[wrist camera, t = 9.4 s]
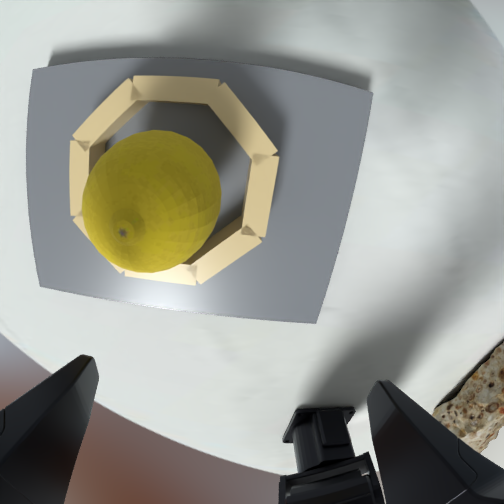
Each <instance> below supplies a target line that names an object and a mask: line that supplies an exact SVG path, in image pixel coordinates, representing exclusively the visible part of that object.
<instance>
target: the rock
mask: <svg viewBox="0 0 504 504" xmlns="http://www.w3.org/2000/svg"><path fill="white" fill-rule="evenodd" d="M432 416H433V417H434V418H435V419H437V420H438V421H439V422H440V423H441V424H443V425H444V426H445V427H446V428H448V429H449V430H450V431H451V432H452V433H454V434H455V435H456V436H457V437H458V438H460V439H461V440H462V441H464V442H465V443H466V444H467V445H469V446H470V447H471V448H473V449H474V450H475V451H477V452H478V453H481V452H482V451H483V450H484V449H485V448H487V445H488V443H489V442H490V441H491V440H493V439H496V437H497V435H498V432H499V429H500V428H501V427H502V426H504V342H503V344H502V345H500V346H498V347H497V348H496V349H495V351H494V352H493V353H492V354H491V357H490V359H489V360H488V361H487V362H485V363H484V364H482V365H481V366H480V367H479V369H478V370H477V371H476V372H475V373H474V374H473V375H472V376H471V377H470V378H469V379H468V380H467V381H466V383H465V384H464V386H463V387H462V389H461V390H460V392H459V393H458V395H457V397H455V398H454V399H452V400H450V401H448V402H445V403H443V404H442V405H440V406H439V407H437V408H435V410H434V413H433V415H432Z"/></svg>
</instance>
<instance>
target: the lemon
mask: <svg viewBox="0 0 504 504" xmlns="http://www.w3.org/2000/svg"><path fill="white" fill-rule="evenodd" d="M221 195H222V191H221V185H220V179H219V175H218V172H217V170H216V168H215V166H214V164H213V161H212V159H211V158H210V157H209V156H208V154H207V153H206V152H205V151H204V150H203V148H202V147H201V146H199V145H198V144H197V143H195V142H194V141H192V140H191V139H190V138H188V137H185V136H183V135H180V134H178V133H175V132H172V131H162V130H150V131H145V132H140V133H135V134H133V135H131V136H129V137H127V138H125V139H123V140H121V141H119V142H117V143H116V144H114V145H113V146H112V147H111V148H110V149H109V150H108V151H107V152H106V153H104V154H103V155H102V156H101V157H100V159H99V160H98V161H97V163H96V164H95V166H94V168H93V169H92V171H91V172H90V174H89V176H88V179H87V182H86V185H85V188H84V191H83V195H82V216H83V221H84V226H85V229H86V231H87V234H88V236H89V238H90V240H91V242H92V243H93V245H94V246H95V247H96V249H97V250H98V252H99V253H100V254H102V255H103V256H104V257H105V258H106V259H107V260H108V261H110V262H111V263H113V264H115V265H117V266H119V267H120V268H123V269H126V270H130V271H133V272H137V273H155V272H159V271H164V270H168V269H171V268H173V267H175V266H177V265H179V264H181V263H183V262H185V261H186V260H187V259H189V258H190V257H191V256H192V255H193V254H194V253H195V252H197V251H198V250H199V249H200V248H201V247H202V246H203V244H204V243H205V241H206V240H207V238H208V237H209V235H210V234H211V232H212V231H213V229H214V227H215V224H216V221H217V218H218V216H219V213H220V206H221Z"/></svg>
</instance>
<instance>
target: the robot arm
mask: <svg viewBox="0 0 504 504" xmlns="http://www.w3.org/2000/svg"><path fill="white" fill-rule="evenodd" d="M98 381H99V374H98V370H97V366H96V363H95V359H94V358H93V357H92V356H88V355H80V356H78V357H77V358H75V359H74V360H72V361H71V362H69V363H68V364H67V365H65V366H64V367H62V368H61V369H59V370H58V371H56V372H55V373H54V374H52V375H51V376H49V377H48V378H46V379H45V380H44V381H42V382H41V383H39V384H38V385H36V386H35V387H33V388H32V389H31V390H29V391H28V392H26V393H25V394H23V395H22V396H21V397H19V398H18V399H16V400H15V401H14V402H12V403H11V404H10V405H8V406H6V408H5V409H2V410H1V411H0V504H64V501H65V497H66V493H67V490H68V486H69V482H70V479H71V475H72V472H73V469H74V465H75V462H76V459H77V455H78V453H79V449H80V446H81V443H82V440H83V437H84V434H85V431H86V428H87V426H88V422H89V419H90V415H91V410H92V406H93V402H94V397H95V393H96V389H97V385H98ZM367 406H368V413H369V420H370V428H371V435H372V441H373V446H374V450H375V454H376V458H377V462H378V467H379V471H380V476H381V480H382V485H383V489H384V494H385V499H386V504H504V469H503V468H501V467H500V466H498V465H496V464H495V463H493V462H492V461H490V460H489V459H487V458H485V457H484V456H482V455H481V454H480V453H478V452H477V451H475V450H474V449H473V448H471V447H470V446H469V445H467V444H466V443H465V442H464V441H462V440H461V439H460V438H458V437H457V436H456V435H455V434H454V433H452V432H451V431H450V430H449V429H448V428H446V427H445V426H444V425H443V424H441V423H440V422H439V421H438V420H437V419H435V418H434V417H433V416H432V415H430V414H429V413H428V412H427V411H426V410H424V409H423V408H422V407H421V406H419V405H418V404H417V403H416V402H415V401H413V400H412V399H411V398H410V397H409V396H407V395H406V394H405V393H404V392H402V391H401V390H400V389H399V388H398V387H396V386H395V385H394V384H393V383H392V382H390V381H389V380H379V381H377V382H376V383H375V384H374V386H373V388H372V390H371V392H370V393H369V395H368V398H367ZM355 412H356V411H355V408H354V407H345V408H326V409H299V410H297V411H295V413H294V415H293V417H292V420H291V422H290V424H289V426H288V428H287V430H286V432H285V434H284V436H283V439H282V440H283V443H293V444H294V450H295V457H296V463H297V470H298V473H296V474H292V475H287V476H286V475H283V476H280V482H279V504H385V503H384V498H383V494H382V490H381V487H380V483H379V481H378V477H377V475H376V471H375V469H374V466H373V463H372V460H371V457H370V454H369V451H368V452H366V453H363V454H362V455H360V456H357V457H355V453H354V450H353V446H352V443H351V438H350V434H349V431H348V428H347V424H348V422H349V421H350V420H351V418H352V417H353V415H354V414H355ZM364 473H367V475H364V476H362V475H361V474H364Z"/></svg>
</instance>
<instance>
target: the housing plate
mask: <svg viewBox="0 0 504 504" xmlns="http://www.w3.org/2000/svg"><path fill="white" fill-rule="evenodd" d="M372 97H373V92H370V91H366V90H363V89H360V88H357V87H353V86H350V85H346V84H343V83H339V82H335V81H332V80H328V79H324V78H320V77H316V76H311V75H307V74H302V73H298V72H293V71H288V70H282V69H277V68H271V67H265V66H259V65H252V64H245V63H237V62H228V61H218V60H206V59H190V58H119V59H104V60H93V61H83V62H75V63H68V64H61V65H54V66H48V67H43V68H38V69H33V72H32V79H31V87H30V95H29V105H28V118H27V137H26V178H27V197H28V210H29V221H30V229H31V237H32V244H33V251H34V257H35V263H36V269H37V274H38V279H39V284H40V287H45V288H49V289H54V290H59V291H64V292H69V293H74V294H79V295H84V296H89V297H95V298H100V299H106V300H112V301H118V302H124V303H130V304H136V305H143V306H149V307H156V308H163V309H170V310H177V311H185V312H193V313H201V314H210V315H218V316H228V317H237V318H248V319H259V320H270V321H283V322H297V323H312V324H316V322H317V319H318V316H319V313H320V310H321V307H322V304H323V300H324V297H325V294H326V291H327V288H328V284H329V281H330V278H331V274H332V271H333V268H334V264H335V261H336V257H337V254H338V250H339V247H340V243H341V239H342V236H343V232H344V228H345V224H346V220H347V216H348V212H349V208H350V204H351V200H352V196H353V192H354V188H355V183H356V179H357V175H358V170H359V165H360V161H361V156H362V151H363V146H364V141H365V136H366V131H367V126H368V120H369V115H370V109H371V103H372ZM150 130H162V131H172V132H175V133H178V134H180V135H183V136H185V137H188V138H190V139H191V140H192V141H194V142H195V143H197V144H198V145H199V146H201V147H202V148H203V150H204V151H205V152H206V153H207V154H208V156H209V157H210V158H211V159H212V161H213V164H214V166H215V168H216V170H217V172H218V175H219V179H220V185H221V191H222V195H221V206H220V213H219V216H218V218H217V221H216V224H215V227H214V229H213V231H212V232H211V234H210V235H209V237H208V238H207V240H206V241H205V243H204V244H203V246H202V247H201V248H200V249H199V250H198V251H197V252H195V253H194V254H193V255H192V256H191V257H190V258H189V259H187V260H186V261H185V262H183V263H181V264H179V265H177V266H175V267H173V268H171V269H168V270H164V271H159V272H155V273H137V272H133V271H130V270H126V269H123V268H120V267H119V266H117V265H115V264H113V263H111V262H110V261H108V260H107V259H106V258H105V257H104V256H103V255H102V254H100V253H99V252H98V250H97V249H96V247H95V246H94V245H93V243H92V242H91V240H90V238H89V236H88V234H87V231H86V229H85V226H84V221H83V216H82V195H83V191H84V188H85V185H86V182H87V179H88V176H89V174H90V172H91V171H92V169H93V168H94V166H95V164H96V163H97V161H98V160H99V159H100V157H101V156H102V155H103V154H104V153H106V152H107V151H108V150H109V149H110V148H111V147H112V146H113V145H114V144H116V143H117V142H119V141H121V140H123V139H125V138H127V137H129V136H131V135H133V134H135V133H140V132H145V131H150Z"/></svg>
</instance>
